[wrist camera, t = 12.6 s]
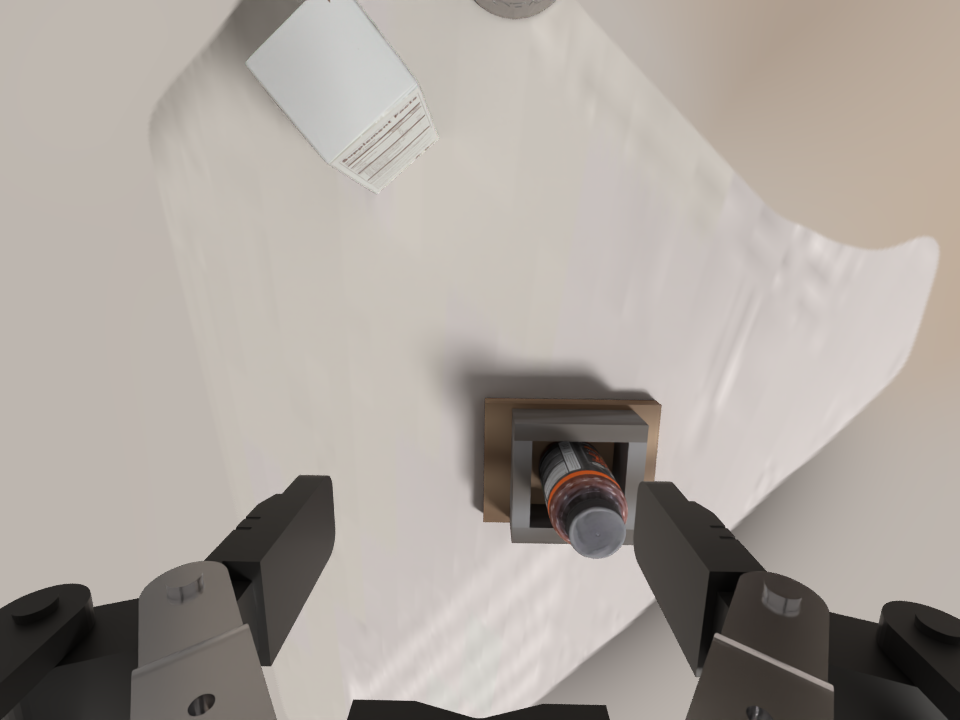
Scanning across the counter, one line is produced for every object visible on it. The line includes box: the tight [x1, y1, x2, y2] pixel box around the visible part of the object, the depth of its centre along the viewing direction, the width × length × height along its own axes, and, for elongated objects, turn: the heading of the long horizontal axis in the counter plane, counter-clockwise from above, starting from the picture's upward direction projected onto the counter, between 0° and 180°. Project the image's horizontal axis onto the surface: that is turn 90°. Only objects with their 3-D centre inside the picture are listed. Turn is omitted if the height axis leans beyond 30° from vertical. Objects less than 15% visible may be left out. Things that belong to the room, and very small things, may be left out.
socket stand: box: [483, 398, 662, 545], centre depth 41 cm, size 12×16×6 cm
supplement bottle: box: [538, 441, 628, 559], centre depth 36 cm, size 6×6×11 cm
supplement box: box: [245, 0, 439, 194], centre depth 32 cm, size 7×7×13 cm
